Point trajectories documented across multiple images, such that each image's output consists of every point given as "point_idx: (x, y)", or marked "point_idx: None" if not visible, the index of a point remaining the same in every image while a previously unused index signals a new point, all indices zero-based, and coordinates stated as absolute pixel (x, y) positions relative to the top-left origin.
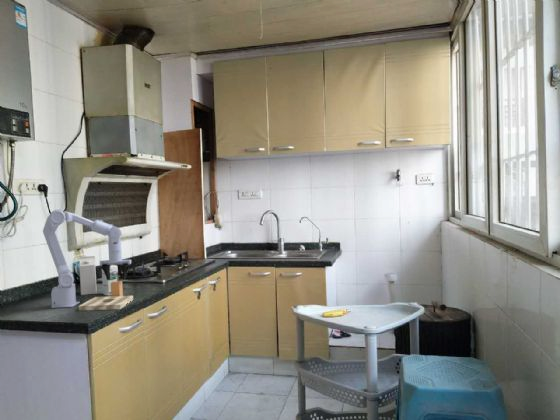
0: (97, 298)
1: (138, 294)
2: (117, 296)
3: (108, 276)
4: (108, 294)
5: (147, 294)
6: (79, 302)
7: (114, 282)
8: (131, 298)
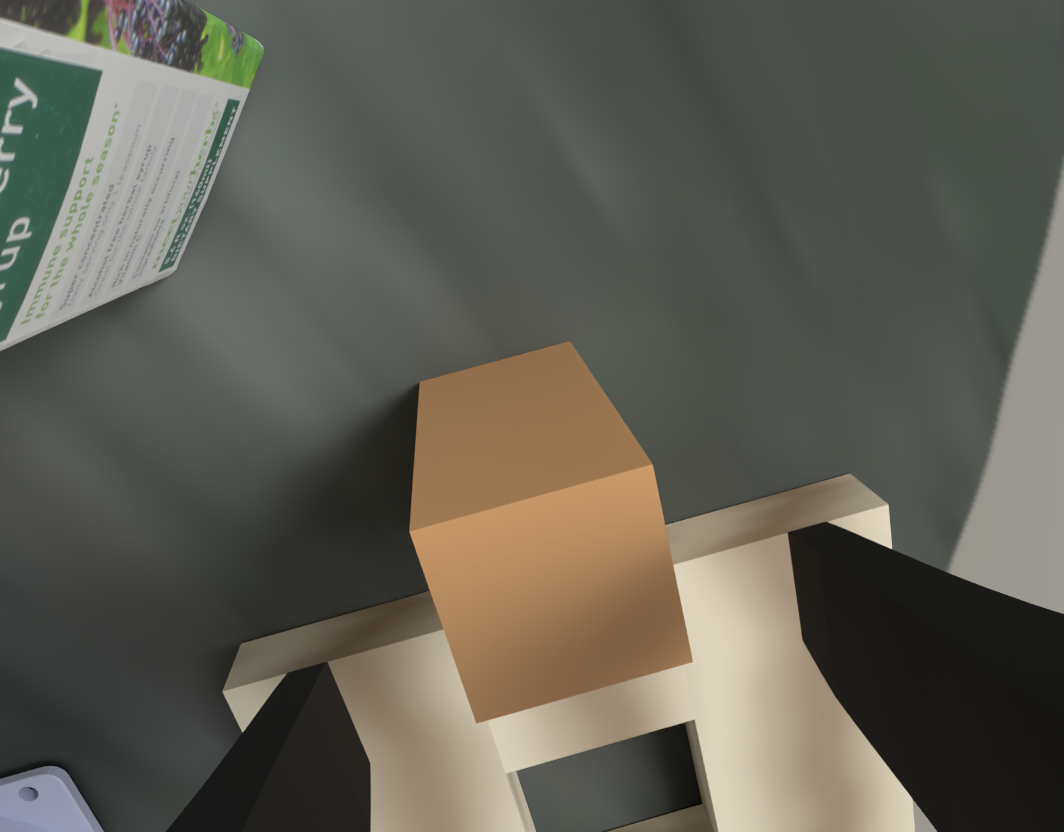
0: None
1: (765, 83)
2: None
3: (344, 828)
4: (162, 275)
5: (955, 65)
6: (72, 786)
7: (529, 645)
8: None
